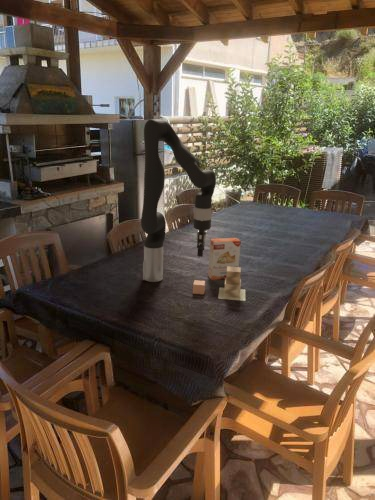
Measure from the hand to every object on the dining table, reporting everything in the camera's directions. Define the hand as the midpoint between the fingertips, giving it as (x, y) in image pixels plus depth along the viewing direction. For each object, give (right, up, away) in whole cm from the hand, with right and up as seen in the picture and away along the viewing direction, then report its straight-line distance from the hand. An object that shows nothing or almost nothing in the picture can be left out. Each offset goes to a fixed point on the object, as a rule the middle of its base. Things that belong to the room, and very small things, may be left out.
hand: (200, 253), depth 182 cm
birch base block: (+14, -19, +5) cm, 24 cm away
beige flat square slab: (+14, -20, +5) cm, 25 cm away
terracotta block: (-1, -19, +6) cm, 20 cm away
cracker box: (+12, -14, +24) cm, 30 cm away
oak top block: (+14, -13, +3) cm, 19 cm away
